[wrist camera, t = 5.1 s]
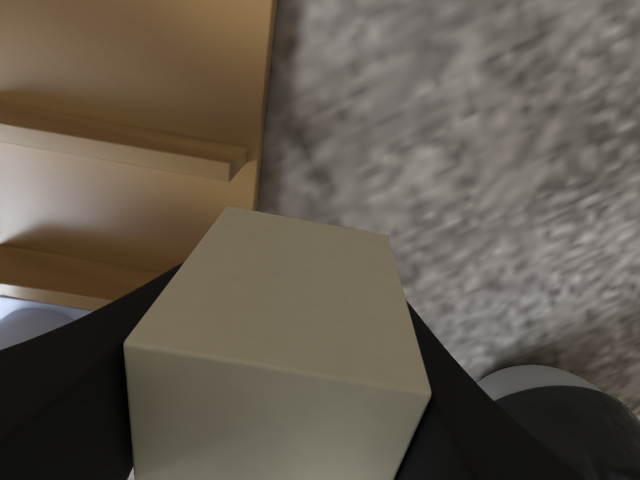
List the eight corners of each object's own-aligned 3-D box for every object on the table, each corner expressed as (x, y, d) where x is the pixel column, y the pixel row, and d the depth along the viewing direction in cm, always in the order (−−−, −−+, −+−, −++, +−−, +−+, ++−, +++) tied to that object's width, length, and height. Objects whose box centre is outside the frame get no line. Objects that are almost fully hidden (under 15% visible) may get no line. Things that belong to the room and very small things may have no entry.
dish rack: (248, 290, 21) (230, 336, 18) (6, 249, 21) (-62, 289, 17) (314, -379, 11) (302, -597, 7) (-176, -491, 10) (-450, -784, 7)
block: (359, 333, 13) (374, 527, 8) (219, 310, 13) (133, 491, 7) (388, 234, 11) (434, 394, 6) (226, 204, 11) (120, 342, 6)
